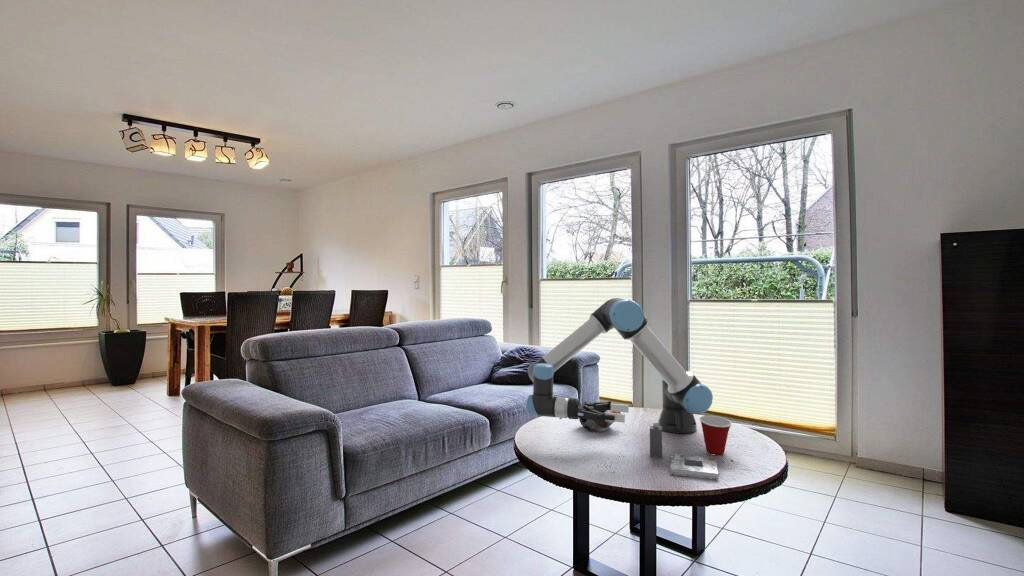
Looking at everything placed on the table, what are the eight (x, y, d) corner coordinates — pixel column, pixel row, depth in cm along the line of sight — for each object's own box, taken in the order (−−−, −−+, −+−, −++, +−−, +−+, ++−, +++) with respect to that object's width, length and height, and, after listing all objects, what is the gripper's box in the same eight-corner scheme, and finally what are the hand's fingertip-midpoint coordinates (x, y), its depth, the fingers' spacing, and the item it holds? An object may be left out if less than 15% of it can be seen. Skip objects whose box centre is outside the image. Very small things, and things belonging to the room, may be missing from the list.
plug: (650, 453, 180) (650, 421, 180) (662, 454, 179) (662, 422, 179) (649, 457, 177) (649, 424, 176) (661, 458, 175) (661, 425, 175)
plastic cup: (717, 460, 173) (717, 425, 173) (692, 451, 183) (692, 417, 182) (739, 455, 178) (739, 421, 178) (714, 446, 188) (714, 414, 187)
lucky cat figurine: (607, 422, 219) (620, 397, 213) (613, 441, 208) (627, 415, 202) (575, 414, 216) (587, 388, 211) (580, 433, 205) (593, 406, 200)
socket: (671, 459, 174) (671, 452, 174) (715, 464, 170) (715, 456, 170) (670, 474, 161) (670, 466, 161) (718, 479, 156) (718, 471, 156)
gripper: (574, 410, 199) (629, 414, 192) (560, 427, 176) (622, 434, 169) (575, 391, 199) (630, 395, 192) (560, 406, 175) (623, 411, 169)
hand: (626, 413), depth 181 cm, fingers open, 13 cm apart
